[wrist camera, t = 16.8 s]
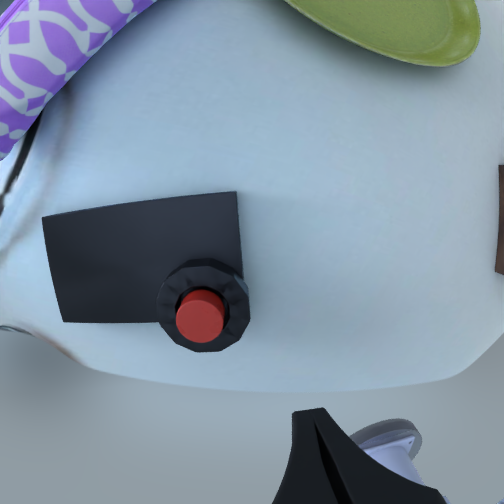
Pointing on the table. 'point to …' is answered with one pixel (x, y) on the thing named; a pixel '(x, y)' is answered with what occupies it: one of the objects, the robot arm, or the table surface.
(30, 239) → the table surface
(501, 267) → the stand
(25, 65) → the pencil case
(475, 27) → the green plate
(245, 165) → the table surface
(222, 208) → the button dock
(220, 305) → the dock button
